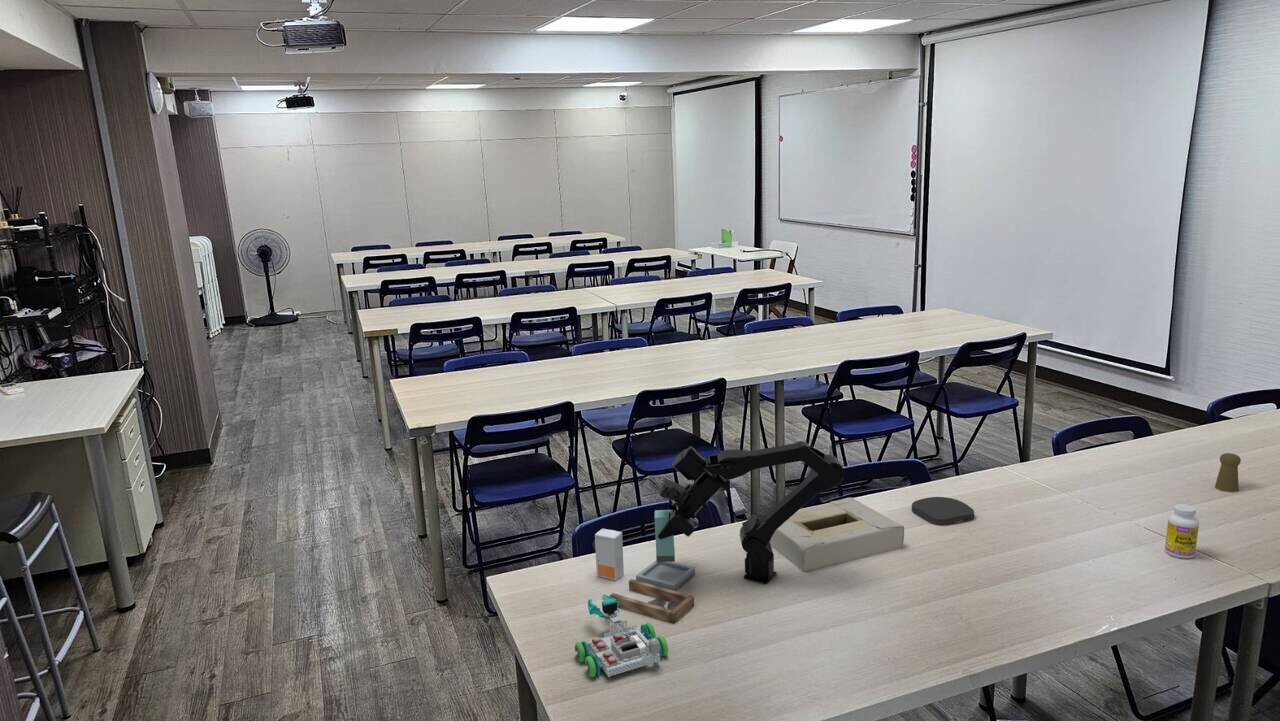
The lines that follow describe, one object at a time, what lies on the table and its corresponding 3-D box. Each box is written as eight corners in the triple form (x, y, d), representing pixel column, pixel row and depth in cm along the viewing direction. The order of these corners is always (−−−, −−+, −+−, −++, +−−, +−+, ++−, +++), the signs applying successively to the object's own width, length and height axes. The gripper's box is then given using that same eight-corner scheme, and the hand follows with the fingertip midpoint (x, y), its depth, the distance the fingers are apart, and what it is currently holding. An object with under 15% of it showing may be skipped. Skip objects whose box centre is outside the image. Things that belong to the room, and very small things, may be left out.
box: (804, 575, 215) (904, 549, 226) (804, 547, 213) (905, 522, 225) (757, 541, 236) (852, 519, 248) (757, 516, 234) (852, 494, 246)
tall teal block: (674, 553, 215) (672, 509, 213) (674, 561, 211) (672, 517, 208) (656, 553, 216) (654, 510, 213) (656, 562, 211) (654, 517, 208)
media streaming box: (906, 509, 252) (906, 500, 251) (947, 502, 256) (947, 493, 255) (936, 528, 238) (937, 518, 237) (979, 520, 242) (980, 510, 242)
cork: (1218, 491, 255) (1222, 457, 253) (1211, 484, 261) (1215, 450, 258) (1241, 492, 253) (1246, 458, 251) (1234, 485, 259) (1238, 451, 256)
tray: (695, 574, 216) (695, 567, 216) (673, 593, 207) (673, 585, 207) (659, 565, 222) (658, 558, 222) (636, 582, 213) (635, 575, 213)
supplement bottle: (1169, 558, 214) (1174, 511, 211) (1160, 547, 221) (1165, 501, 218) (1199, 560, 213) (1204, 513, 210) (1189, 549, 219) (1194, 503, 216)
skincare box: (596, 577, 217) (593, 534, 214) (604, 570, 221) (602, 527, 218) (616, 581, 214) (614, 538, 212) (624, 574, 218) (622, 531, 215)
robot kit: (629, 612, 200) (627, 576, 198) (676, 665, 177) (675, 625, 175) (555, 632, 192) (552, 594, 190) (595, 689, 170) (592, 648, 168)
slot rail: (694, 605, 201) (693, 596, 200) (674, 623, 193) (673, 613, 193) (631, 587, 210) (631, 578, 210) (610, 604, 203) (609, 595, 202)
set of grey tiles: (688, 607, 200) (688, 603, 200) (673, 620, 194) (673, 616, 194) (656, 598, 205) (656, 595, 204) (641, 611, 199) (641, 607, 199)
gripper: (677, 458, 217) (637, 499, 220) (678, 484, 199) (633, 529, 202) (708, 485, 218) (668, 526, 221) (712, 514, 200) (668, 558, 203)
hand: (659, 533), depth 212 cm, fingers closed on tall teal block, 4 cm apart
